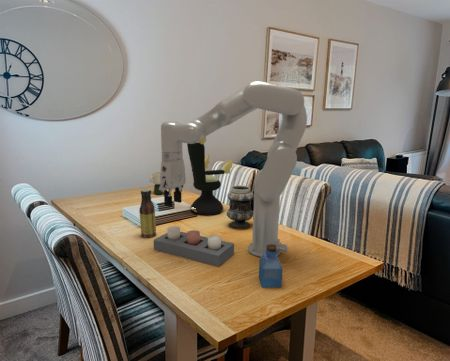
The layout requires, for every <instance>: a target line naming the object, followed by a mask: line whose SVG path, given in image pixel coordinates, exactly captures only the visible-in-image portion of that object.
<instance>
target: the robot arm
mask: <svg viewBox="0 0 450 361" xmlns="http://www.w3.org/2000/svg"><path fill="white" fill-rule="evenodd" d="M257 109H260V110H264V111H266V112H267V111H268V112H272V113H277V114H281V116H282V119H281V120H282V121H281V124H280V127H279V129H278V130H277V133H276V135H275V137H274V140H273V141H272V143H271V145H270V147H269V149H268V151H267V154H266V155H267V158H266V160H265V163H264V165H263V167H262V169H260V170H259V171H258V172H257V173H256V174H255V176H254V180H253V195H254V197H253V210H252V212H253V217H252V238H251V239H252V240H251V243H250V244H249V245H248V246H247V251H248V252H249V253H250V254H251V255H253V256H255V257H260V258H261V257H262V255H263V254H266V249H267V247H266V246H267V245H269V244H272V245H276V246H277V248H276V250H277V256H279V255H280V254H281V253H288V250H289V247H288V245H287V244H283V243H281V239H280V238H279V222H280V207H281V206H280V203H281V202H280V201H281V200H280V199H281V195H282V194H283V193H284V190H285V189H286V186H287V185H288V183H289V180H290V179H291V176H292V174H293V173H294V171H295V168H296V167H297V166H296V165H297V162H298V156H297V153H296V152H297V150H298V148H299V145H300V143H301V140H302V139H303V136H304V133H305V131H306V127H307V125H308V114H307V110H306V109H307V108H306V106H305V97H304V95H303V94H302V92H301V91H299V90H298V89H296V88H292V87H287V86H282V85H279V84H274V83H270V82H265V81H263V80H262V81H261V80H252V81H251V82H249V83H248V84H246V85H245V86H244V87H242V88H240V89H239V90H237V91H236V92H234V93H233V94H231V95H229V96H228V97H226V98H223V99H222V100H220V101H219V102H218V103H217V104H215V105H214V107H213V108H211V109H210V110H208V111H207V112H205V113H203V114H201V115H200V116H198V117H197V118H195V119H193V120H192V121H188V122H183V123H182V122H178V121H165V122H162V123H161V126H160V141H161V142H160V144H161V162H160V171H159V172H160V182H161V185H160V187H159V190H160V191H161V192H162V193H163V194H162V195H163V198H164V199H163V201H164V206H165V207H173V202H174V203H182V201H183V200H182V192H183V188H184V185H185V184H186V181H187V180H186V179H187V178H186V167H185V160H184V158H183V144H187V143H188V144H194V143H198V141H200V140H201V139H202V138H204V137H206V138H207V136H209V135H210V134H213V133H214V132H216V131H218V130H219V129H222V128H223V127H226V126H229V125H231V124H233V123H235V122H237V121H238V120H240V119H242V118H243V117H245V116H247V115H248V114H250V113H252V112H253V111H255V110H257ZM173 189H174V191H173V195H172V190H173Z"/></svg>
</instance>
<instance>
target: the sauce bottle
mask: <svg viewBox="0 0 450 361" xmlns="http://www.w3.org/2000/svg"><path fill="white" fill-rule="evenodd" d="M140 194H141V201H140V202H141V203H140V206H139V211H138V213H139V220H140V221H139V224H140V225H139V226H140V233H141V236H142V237H143V238H147V239H148V238H153V237H156V235H157V224H156V223H157V222H156V210H155V204H154V202H153V201H152V190H151V189H150V188H143V189H142V188H141V189H140Z"/></svg>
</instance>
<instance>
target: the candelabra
mask: <svg viewBox="0 0 450 361" xmlns="http://www.w3.org/2000/svg"><path fill="white" fill-rule="evenodd" d="M206 142H207V136H206V137H204V138H202V139H201V140H200V141H198V142H197V143H194V144H188V143H186V146H187V152H188V155H189V156H188V157H189V162H190V167H191V173H192V177H193V185H192V186H193V187H194V188H195V190H198V191H200V192H201V194H200V196H198V197H197V198H196V199H195V200H194V201H193V202H192V204H191V205H190V208H191V207H194V208H196V210H197V215H202V216H203V215H204V216H211V215H217V214H220V213H221V212H222V211H223V210H224V204H222V202H221V201H220V199H218V198H217V197H216V196H215V195H214V194H213V193H214V192H213V191H217V190H218V189H220V188H221V185H222V182H221V180H220V179H218V178H217V177H216V175H225V174H231V169H232V168H233V158H232V157H231V158H230V159H229V160H228V161H226V163H224V164H223V165H224V166H223V167H222V169H213V170H212V169H211V170H206V169H208V166H209V164H210V154H208V155H207V156H205V155H206V153H205V152H206V147H205V143H206Z"/></svg>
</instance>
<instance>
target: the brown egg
mask: <svg viewBox="0 0 450 361" xmlns="http://www.w3.org/2000/svg"><path fill="white" fill-rule="evenodd" d="M186 233H187V244H190V245H195V246H196V245H198V244H199V243H200V236H201V232H200V231H198V230H188V231H187V232H186Z"/></svg>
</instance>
